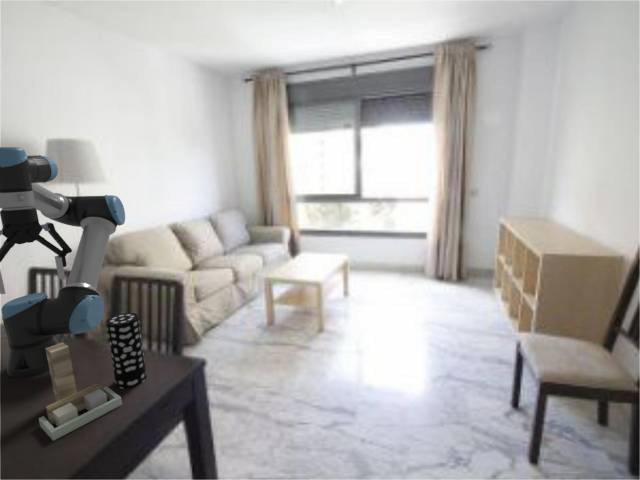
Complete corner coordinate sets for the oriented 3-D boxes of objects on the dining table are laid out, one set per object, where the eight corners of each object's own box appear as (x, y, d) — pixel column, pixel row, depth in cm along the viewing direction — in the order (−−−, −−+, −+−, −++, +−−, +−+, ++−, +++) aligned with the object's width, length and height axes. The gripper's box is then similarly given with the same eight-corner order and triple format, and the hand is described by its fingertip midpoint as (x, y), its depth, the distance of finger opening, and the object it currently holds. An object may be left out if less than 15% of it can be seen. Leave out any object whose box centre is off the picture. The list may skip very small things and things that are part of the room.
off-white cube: (55, 425, 92) (52, 411, 92) (72, 416, 96) (70, 402, 95) (61, 431, 90) (58, 417, 89) (79, 422, 93) (76, 408, 92)
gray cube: (85, 409, 98) (83, 396, 97) (101, 401, 101) (99, 388, 100) (92, 415, 96) (90, 401, 95) (108, 407, 99) (106, 393, 98)
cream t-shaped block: (38, 409, 98) (26, 354, 94) (87, 387, 107) (78, 336, 104) (52, 424, 92) (40, 366, 89) (103, 399, 101) (94, 346, 98)
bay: (40, 427, 92) (38, 418, 91) (107, 394, 104) (106, 386, 104) (53, 441, 87) (51, 432, 86) (122, 405, 99) (121, 397, 99)
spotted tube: (134, 390, 105) (124, 325, 101) (109, 387, 107) (98, 323, 103) (152, 374, 113) (144, 313, 109) (129, 371, 115) (120, 312, 111)
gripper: (-44, 215, 84) (-23, 303, 89) (77, 203, 104) (89, 275, 108) (-52, 213, 88) (-32, 296, 93) (66, 202, 108) (78, 271, 113)
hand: (33, 285), depth 101 cm, fingers open, 13 cm apart
